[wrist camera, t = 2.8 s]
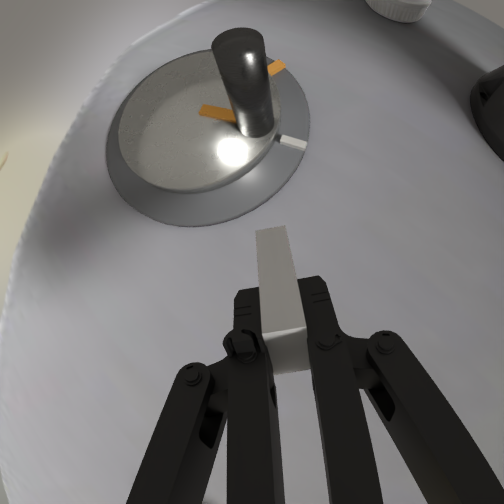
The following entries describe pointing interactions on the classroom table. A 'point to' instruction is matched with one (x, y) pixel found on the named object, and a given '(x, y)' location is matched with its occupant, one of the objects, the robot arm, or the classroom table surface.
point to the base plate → (235, 194)
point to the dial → (203, 117)
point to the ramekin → (400, 9)
